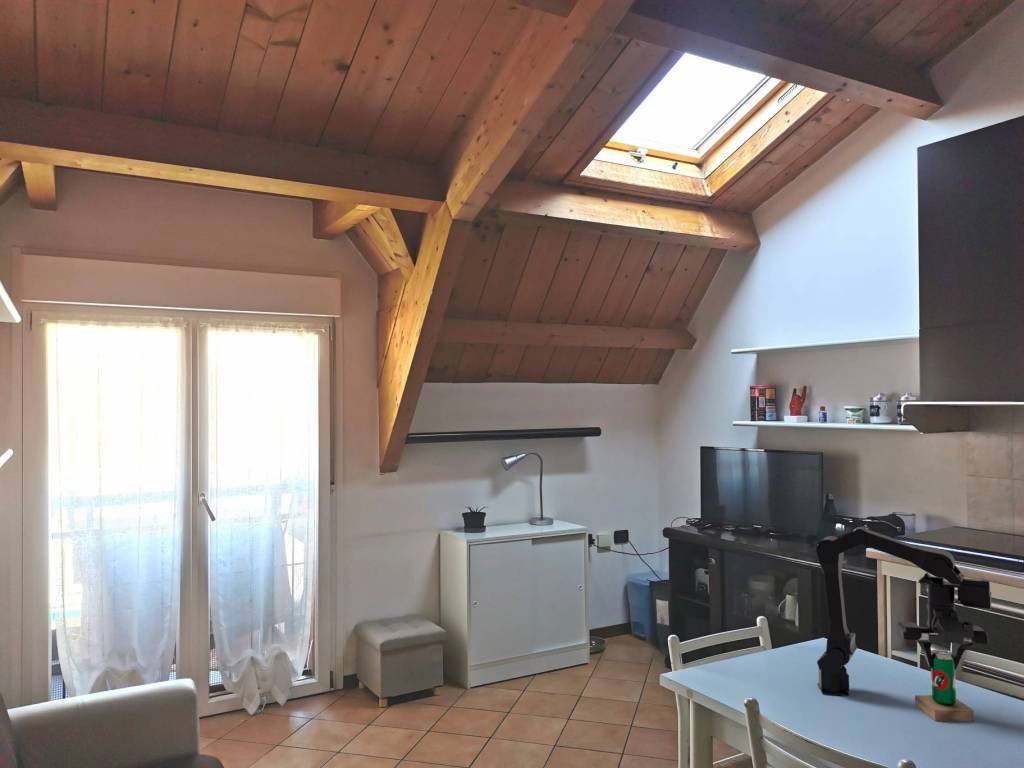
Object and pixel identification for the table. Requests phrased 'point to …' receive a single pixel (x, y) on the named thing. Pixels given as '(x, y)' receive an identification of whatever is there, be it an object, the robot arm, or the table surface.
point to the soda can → (943, 677)
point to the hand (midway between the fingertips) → (942, 668)
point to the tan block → (944, 709)
